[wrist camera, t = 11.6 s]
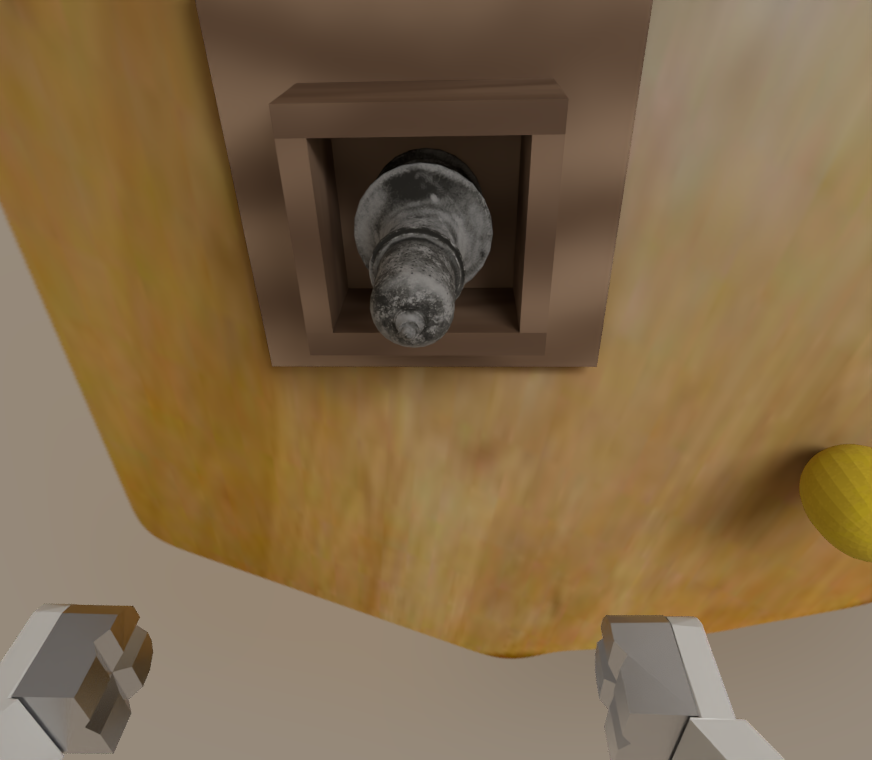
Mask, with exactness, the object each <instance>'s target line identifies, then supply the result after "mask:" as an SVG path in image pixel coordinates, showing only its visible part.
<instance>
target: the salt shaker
mask: <svg viewBox="0 0 872 760" xmlns="http://www.w3.org/2000/svg"><path fill="white" fill-rule="evenodd" d="M492 236H493V230H492V221H491V214H490V212H489V209H488V207H487V204H486V202H485V199H484V198H483V196H482V190H481V187H480V185H479V182H478V180H477V177H476V176H475V175H474V173H473V172H472V171H471V169H470V168H469V167H468V165H467V164H465V163H464V162H463V161H461V160H460V159H459V158H458V157H456V156H455V155H453V154H450V153H448V152H445V151H443V150H440V149H432V148H420V149H413V150H409V151H407V152H405V153H402V154H400V155H398V156H396V157H395V158H394V159H392V160H391V161H390V162H389V163H388V164H386V165H385V166H384V168H383V169H382V171H381V172H380V174H379V175H378V177H377V178H376V180H375V181H374V182H373V183H372V184H371V185H370V186H369V187H368V189H367V190H366V192H365V193H364V195H363V196H362V198H361V199H360V201H359V204H358V208H357V211H356V214H355V217H354V238H355V242H356V246H357V250H358V253H359V255H360V257H361V259H362V260H363V262H364V264H365V266H366V268H367V269H368V270H369V276H370V279H371V283H372V286H373V290H372V294H371V298H370V311H371V315H372V319H373V322H374V324H375V326H376V328H377V329H378V331H379V332H380V333H381V334H382V335H383V336H384V337H385V338H387V339H388V340H390V341H392V342H393V343H395V344H398V345H401V346H404V347H412V348H416V347H425V346H428V345H430V344H433V343H435V342H436V341H438V340H439V339H441V338H442V337H443V336H444V335H445V333H446V332H447V331H448V329H449V327H450V325H451V323H452V321H453V318H454V310H455V301H456V299H457V298H458V297H459V296H460V294H461V292H462V289H463V287H464V284H466V283H467V282H469V281H470V280H472V279H473V277H474V276H475V275H476V274H477V273H478V271H479V270H480V269H481V268H482V267H483V265H484V263H485V261H486V258H487V256H488V254H489V252H490V248H491V242H492Z"/></svg>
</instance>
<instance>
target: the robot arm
mask: <svg viewBox="0 0 872 760" xmlns="http://www.w3.org/2000/svg"><path fill="white" fill-rule="evenodd" d="M139 618H140V616H139V615H138V613H137V611H136V610H135V608H134V607H133V606H109V605H77V604H43V605H42V606H41V607H39V608H38V609H37V610H36V611H34V613H33V614H32V615H31V617H30V618H29V620H28V621H27V623H26V624H25V626H24V627H23V629H22V630H21V632H20V633H19V635H18V636H17V638H16V639H15V641H14V643H13V644H12V646H11V647H10V649H9V650H8V652H7V653H6V655H5V656H4V658H3V659H2V661H1V662H0V760H61V759H62V758H63V757H64V755H63V753H81V754H85V753H86V754H87V753H88V754H93V753H94V754H95V753H96V754H100V753H101V754H109V753H110V754H111V753H112V754H113V753H114V751H115V749H116V747H117V744H118V742H119V740H120V738H121V736H122V733H123V731H124V729H125V726H126V724H127V722H128V720H129V717H130V715H131V709H130V704H129V700H128V699H130V698H131V697H132V696H133V695H134V694H135V693H136V692H137V691H138V690H140V689H141V688H142V687H143V685H144V683H145V680H146V678H147V676H148V673H149V671H150V667H151V661H152V655H153V648H152V640H151V638H150V636H149V634H148V632H147V631H145V630H143V629H142V628H140V627H139V626H137V625H136V624H137V622H138V620H139ZM601 630H602V636H603V639H601V640H600V641H599V642H597V647H596V653H595V673H596V681H597V688H598V694H599V699H600V700H601V702H602V703H603V704H604V705H605V706H606V707H607V709H608V714H607V718H606V722H605V726H604V728H605V734H606V739H607V744H608V750H609V755H610V760H785V759H784V758H783V757H782V756H781V755H780V754H779V753H778V752H777V751H776V750H775V749H774V748H773V747H772V746H771V745H770V744H769V743H768V742H767V740H766V739H764V738H763V737H762V735H760V733H759V732H758V731H756V729H755V728H754V727H753V726H752V725H751V724H750V723H749V722H748V721H747V720H746V719H739V718H736V717H735V715H734V712H733V709H732V706H731V703H730V701H729V698H728V695H727V692H726V690H725V687H724V684H723V682H722V678H721V676H720V673H719V670H718V667H717V665H716V662H715V659H714V656H713V653H712V650H711V648H710V645H709V642H708V639H707V637H706V634H705V631H704V628H703V625H702V623H701V622H700V621H699V620H698V618H696V617H694V616H663V615H606V616H605V617H604V618H603V620H602V624H601Z"/></svg>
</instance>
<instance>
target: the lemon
mask: <svg viewBox="0 0 872 760" xmlns="http://www.w3.org/2000/svg"><path fill="white" fill-rule="evenodd" d="M799 493H800V497H801V501H802V504H803V507H804V510H805V512H806V514H807V516H808V518H809V519H810V521H811V522H812V524H813V525H814V526H815V527H816V529H817V530H818V531H819V532H820V533H821V535H822V536H823V537H824V538H825V539H826V540H827V541H828V542H829V543H831V544H832V545H833V546H834V547H835V548H837V549H838V550H840V551H842V552H843V553H845V554H847V555H848V556H850V557H853V558H856V559H859V560H863V561H866V562H872V448H871V447H867V446H862V445H856V444H843V445H837V446H832V447H829V448H827V449H824V450H822V451H821V452H819V453H817V454H816V455H815V456H813V457H812V458H811V459H810V461H809V462H808V463H807V464H806V465H805V467H804V469H803V471H802V474H801V477H800V484H799Z"/></svg>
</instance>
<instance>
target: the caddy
mask: <svg viewBox="0 0 872 760" xmlns="http://www.w3.org/2000/svg"><path fill="white" fill-rule="evenodd" d="M195 2H196V7H197V12H198V17H199V21H200V26H201V31H202V36H203V40H204V45H205V50H206V55H207V59H208V64H209V69H210V73H211V78H212V83H213V88H214V92H215V97H216V102H217V107H218V111H219V116H220V121H221V126H222V130H223V135H224V140H225V145H226V149H227V154H228V159H229V163H230V168H231V173H232V178H233V182H234V187H235V192H236V197H237V201H238V206H239V211H240V216H241V220H242V225H243V230H244V235H245V239H246V244H247V249H248V253H249V258H250V263H251V268H252V272H253V277H254V282H255V287H256V291H257V296H258V301H259V306H260V310H261V315H262V320H263V325H264V329H265V334H266V339H267V343H268V348H269V353H270V358H271V362H272V366H401V367H597V362H598V355H599V349H600V342H601V336H602V329H603V323H604V316H605V310H606V303H607V297H608V290H609V284H610V277H611V270H612V264H613V257H614V251H615V244H616V238H617V231H618V225H619V218H620V212H621V205H622V199H623V192H624V185H625V179H626V172H627V166H628V159H629V153H630V146H631V140H632V133H633V127H634V120H635V114H636V107H637V101H638V94H639V87H640V81H641V74H642V68H643V61H644V55H645V48H646V42H647V35H648V29H649V22H650V16H651V9H652V2H653V0H195ZM420 148H432V149H440V150H443V151H445V152H448V153H450V154H453V155H455V156H456V157H458V158H459V159H460V160H461V161H463V162H464V163H465V164H467V165H468V167H469V168H470V169H471V171H472V172H473V173H474V175H475V176H476V177H477V180H478V182H479V185H480V187H481V190H482V196H483V198H484V199H485V202H486V204H487V207H488V209H489V212H490V214H491V221H492V230H493V236H492V242H491V248H490V252H489V254H488V256H487V258H486V261H485V263H484V265H483V267H482V268H481V269H480V270H479V271H478V273H477V274H476V275H475V276H474V277H473V279H472V280H470V281H469V282H467V283H466V284H464V287H463V289H462V292H461V294H460V296H459V297H458V298H457V299H456V301H455V310H454V318H453V321H452V323H451V325H450V327H449V329H448V331H447V332H446V333H445V335H444V336H443V337H442V338H441V339H439V340H438V341H436V342H435V343H433V344H430V345H428V346H425V347H416V348H412V347H404V346H401V345H398V344H395V343H393V342H392V341H390V340H388V339H387V338H385V337H384V336H383V335H382V334H381V333H380V332H379V331H378V329H377V328H376V326H375V324H374V322H373V319H372V315H371V311H370V298H371V294H372V290H373V286H372V283H371V279H370V276H369V270H368V269H367V268H366V266H365V264H364V262H363V260H362V259H361V257H360V255H359V253H358V250H357V246H356V242H355V238H354V217H355V214H356V211H357V208H358V204H359V201H360V199H361V198H362V196H363V195H364V193H365V192H366V190H367V189H368V187H369V186H370V185H371V184H372V183H373V182H374V181H375V180H376V178H377V177H378V175H379V174H380V172H381V171H382V169H383V168H384V166H385V165H386V164H388V163H389V162H390V161H391V160H392V159H394V158H395V157H396V156H398V155H400V154H402V153H405V152H407V151H409V150H413V149H420Z"/></svg>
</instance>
